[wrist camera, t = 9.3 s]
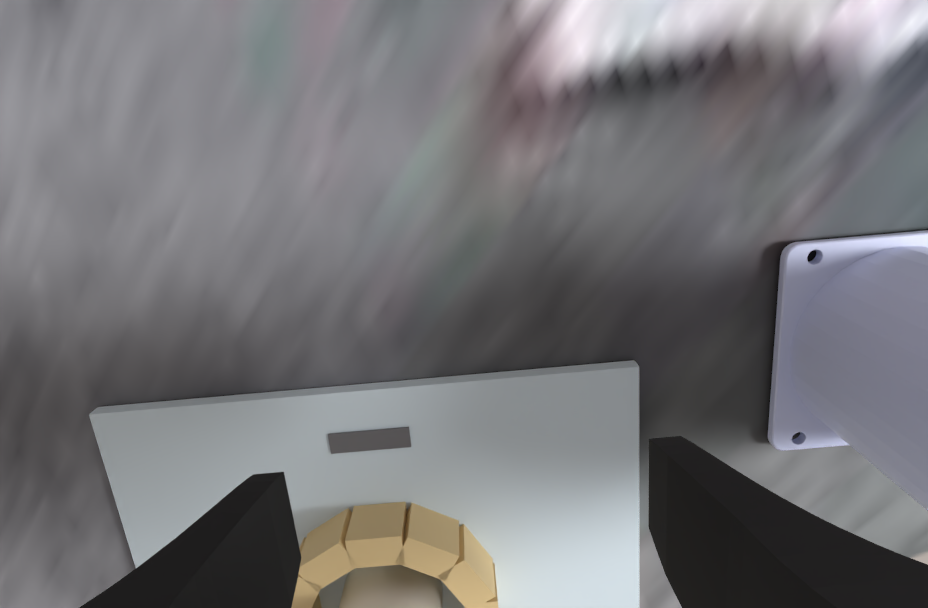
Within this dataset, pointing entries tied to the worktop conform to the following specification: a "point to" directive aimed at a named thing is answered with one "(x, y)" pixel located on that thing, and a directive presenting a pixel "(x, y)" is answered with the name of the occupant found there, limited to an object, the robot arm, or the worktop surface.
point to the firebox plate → (410, 479)
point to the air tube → (391, 588)
